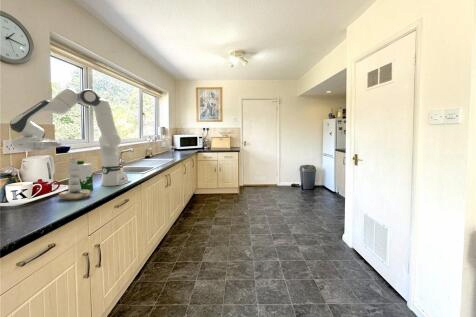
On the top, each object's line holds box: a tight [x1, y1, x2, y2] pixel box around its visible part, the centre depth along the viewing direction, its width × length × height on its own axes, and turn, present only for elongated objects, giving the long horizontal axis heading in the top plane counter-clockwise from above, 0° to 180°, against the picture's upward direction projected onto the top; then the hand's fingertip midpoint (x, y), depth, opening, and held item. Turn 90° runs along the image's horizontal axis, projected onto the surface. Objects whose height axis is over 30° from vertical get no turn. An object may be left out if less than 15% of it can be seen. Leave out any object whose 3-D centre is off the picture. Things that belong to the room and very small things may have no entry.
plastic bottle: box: [66, 158, 81, 193], centre depth 151 cm, size 6×7×20 cm
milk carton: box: [76, 160, 94, 191], centre depth 172 cm, size 9×9×20 cm
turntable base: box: [62, 196, 88, 202], centre depth 152 cm, size 12×12×2 cm
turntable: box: [58, 189, 92, 200], centre depth 152 cm, size 16×16×2 cm
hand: (51, 144), depth 151 cm, fingers open, 8 cm apart
